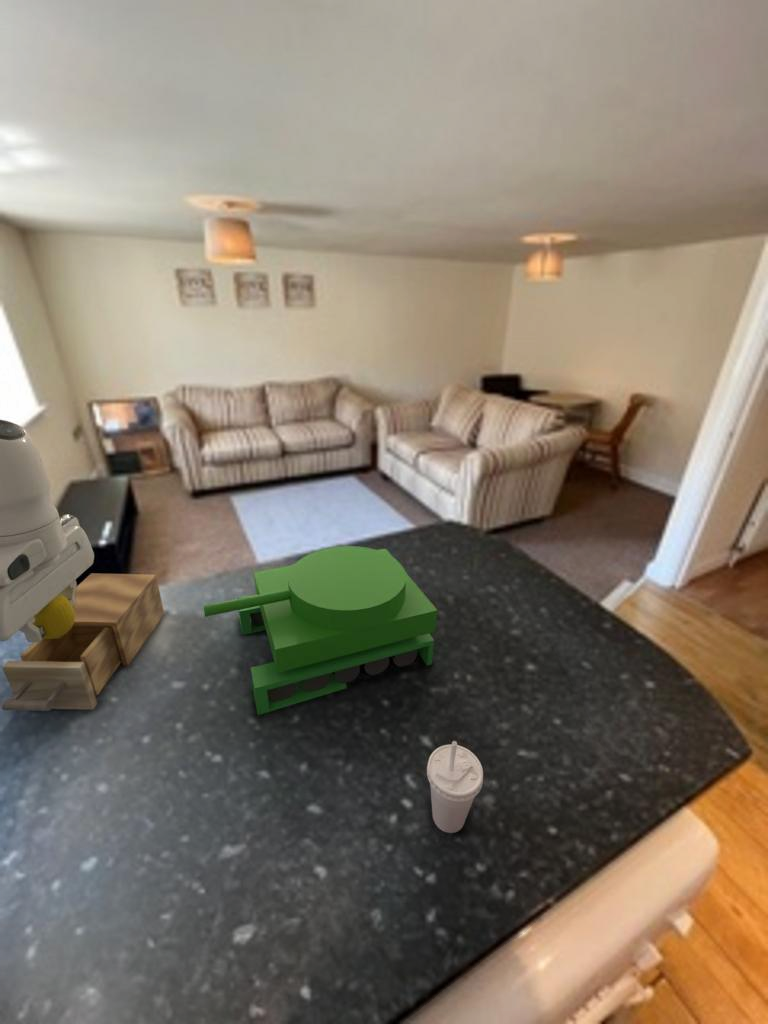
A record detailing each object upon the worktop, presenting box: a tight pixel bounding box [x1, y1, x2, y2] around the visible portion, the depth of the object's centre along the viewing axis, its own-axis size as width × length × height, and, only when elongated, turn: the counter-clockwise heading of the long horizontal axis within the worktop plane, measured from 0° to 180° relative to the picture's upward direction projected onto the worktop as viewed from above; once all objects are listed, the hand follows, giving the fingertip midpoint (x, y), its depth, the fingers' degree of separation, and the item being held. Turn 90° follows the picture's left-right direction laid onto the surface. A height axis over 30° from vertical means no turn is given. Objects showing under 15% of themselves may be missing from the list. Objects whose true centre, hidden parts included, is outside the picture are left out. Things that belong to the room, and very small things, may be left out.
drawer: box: [1, 626, 122, 712], centre depth 69 cm, size 18×11×8 cm, turn 0°
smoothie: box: [426, 740, 484, 834], centre depth 52 cm, size 6×6×14 cm
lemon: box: [32, 594, 75, 639], centre depth 66 cm, size 6×6×8 cm
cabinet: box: [73, 572, 165, 667], centre depth 80 cm, size 14×12×10 cm
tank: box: [203, 545, 438, 716], centre depth 78 cm, size 24×35×16 cm
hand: (53, 623), depth 66 cm, fingers closed on lemon, 5 cm apart
